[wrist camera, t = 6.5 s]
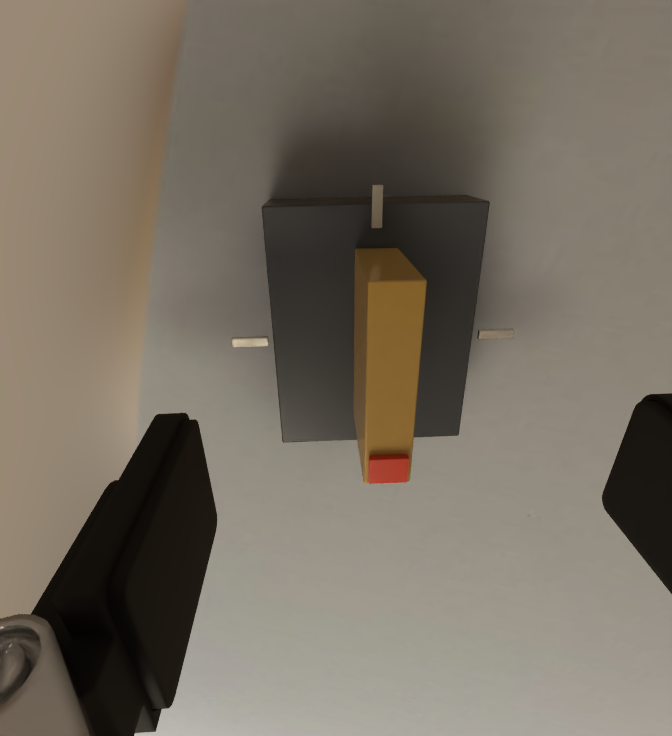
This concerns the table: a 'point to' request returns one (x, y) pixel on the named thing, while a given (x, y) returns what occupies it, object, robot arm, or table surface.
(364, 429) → the yellow block
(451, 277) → the panel
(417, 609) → the table surface
